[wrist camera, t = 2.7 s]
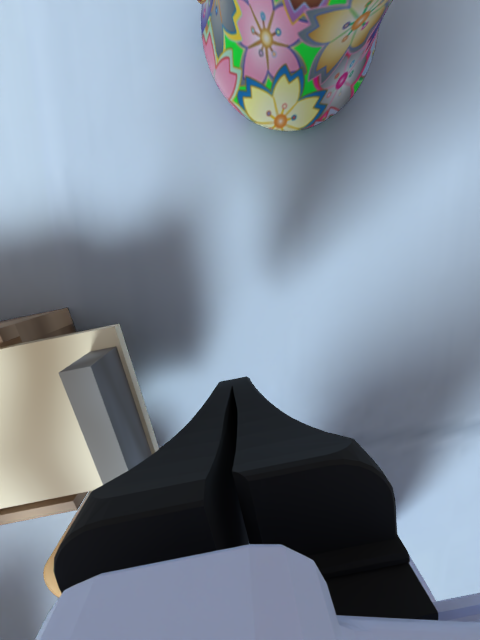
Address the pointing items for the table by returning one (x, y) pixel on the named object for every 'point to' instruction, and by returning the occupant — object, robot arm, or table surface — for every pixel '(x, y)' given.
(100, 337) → the lid
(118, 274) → the table surface
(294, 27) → the mug
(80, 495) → the wooden box
